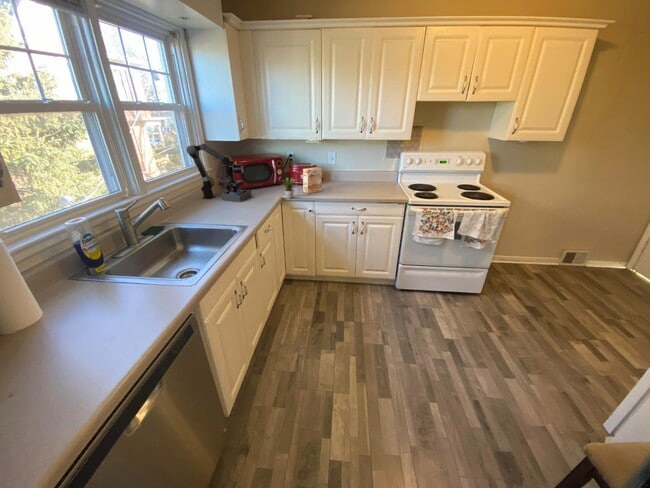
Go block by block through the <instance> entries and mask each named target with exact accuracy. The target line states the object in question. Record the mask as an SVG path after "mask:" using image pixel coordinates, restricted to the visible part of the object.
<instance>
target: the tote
mask: <svg viewBox="0 0 650 488" xmlns="http://www.w3.org/2000/svg"><path fill="white" fill-rule="evenodd" d="M232 190H234V188H231V191H232ZM237 190H241V189H237ZM242 190H243V194H241V195H234V194H230V193H229V191H228V190H227V191H224V192H222V193H221V198H222V199H221V200H222V201H229V202H238V203H241V202H244V201H246V200H247V199H250V198H252V191H251V190H248V189H242Z"/></svg>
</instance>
